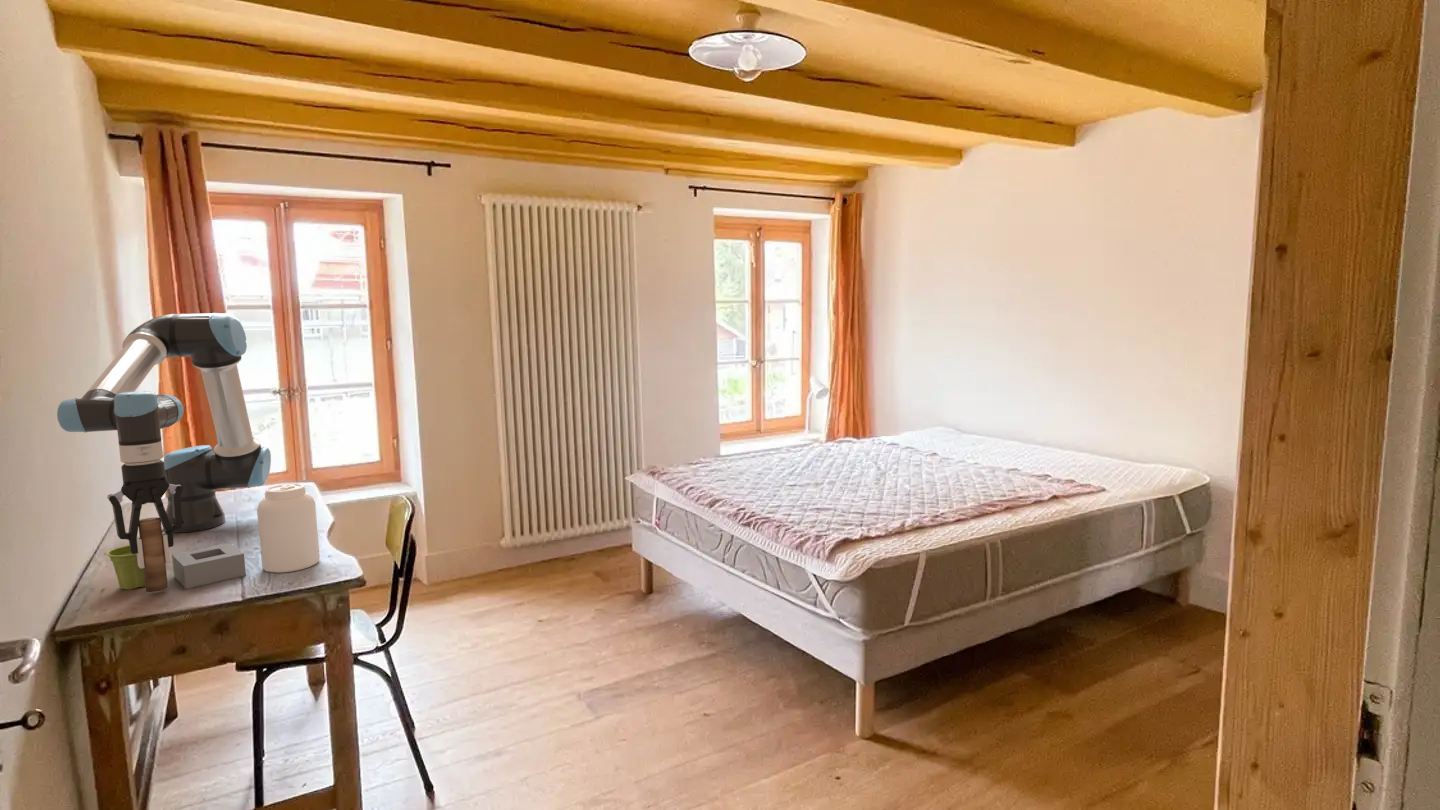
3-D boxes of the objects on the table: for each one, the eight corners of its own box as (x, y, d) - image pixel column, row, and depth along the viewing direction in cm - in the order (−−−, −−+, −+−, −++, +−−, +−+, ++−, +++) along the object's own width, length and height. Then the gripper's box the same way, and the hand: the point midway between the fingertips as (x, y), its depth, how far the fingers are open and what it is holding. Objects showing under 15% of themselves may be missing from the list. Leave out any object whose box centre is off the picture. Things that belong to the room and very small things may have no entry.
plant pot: (129, 578, 179) (125, 543, 178) (171, 577, 180) (167, 542, 179) (100, 593, 170) (96, 556, 169) (145, 591, 171) (140, 554, 170)
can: (282, 556, 194) (275, 480, 192) (330, 556, 194) (324, 480, 191) (251, 574, 182) (243, 493, 179) (301, 574, 181) (294, 492, 179)
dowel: (144, 589, 170) (136, 520, 167) (166, 584, 172) (158, 516, 170) (147, 593, 167) (139, 523, 165) (169, 588, 170) (162, 519, 168)
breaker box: (174, 576, 180) (171, 554, 180) (232, 564, 189) (230, 542, 188) (186, 589, 172) (183, 566, 171) (246, 575, 181) (243, 553, 180)
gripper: (95, 470, 157) (108, 578, 160) (192, 458, 169) (203, 558, 172) (90, 465, 162) (103, 570, 165) (185, 453, 175) (195, 551, 178)
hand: (154, 564), depth 169 cm, fingers closed on dowel, 4 cm apart
